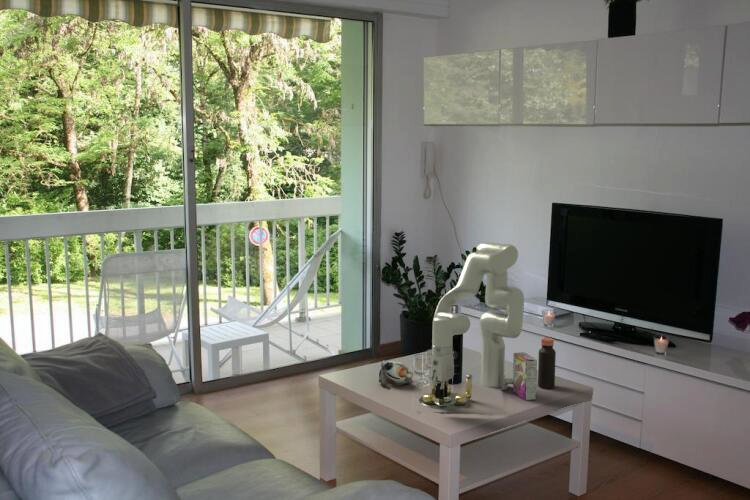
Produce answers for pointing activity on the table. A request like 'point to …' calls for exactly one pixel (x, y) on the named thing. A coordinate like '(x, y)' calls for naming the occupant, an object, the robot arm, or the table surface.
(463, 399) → the gold bent piece
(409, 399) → the table surface
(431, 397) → the gold l-shaped fitting
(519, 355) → the candy bar box
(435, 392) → the gold u-shaped piece
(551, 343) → the bottle
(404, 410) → the table surface
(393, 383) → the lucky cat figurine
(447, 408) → the tribrach plate
